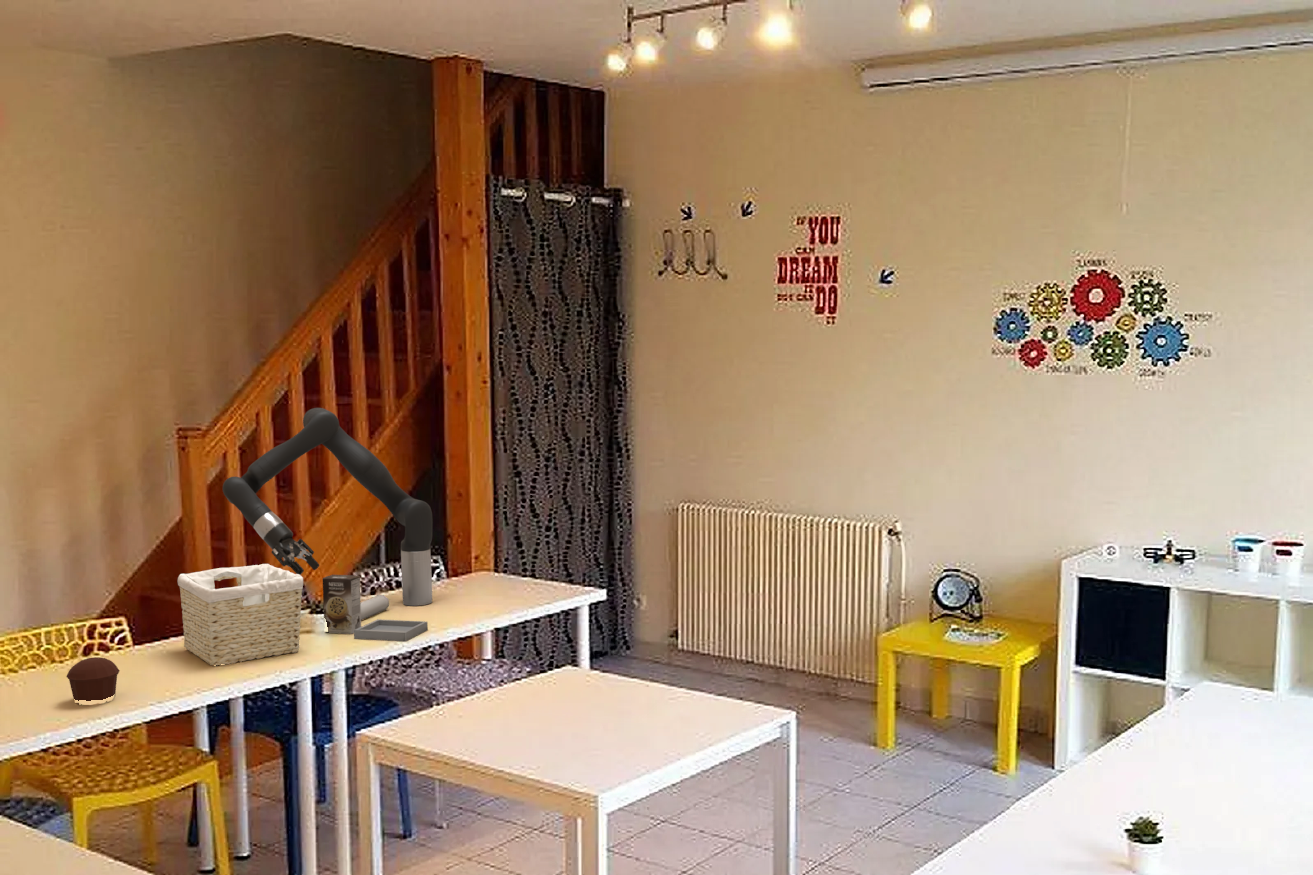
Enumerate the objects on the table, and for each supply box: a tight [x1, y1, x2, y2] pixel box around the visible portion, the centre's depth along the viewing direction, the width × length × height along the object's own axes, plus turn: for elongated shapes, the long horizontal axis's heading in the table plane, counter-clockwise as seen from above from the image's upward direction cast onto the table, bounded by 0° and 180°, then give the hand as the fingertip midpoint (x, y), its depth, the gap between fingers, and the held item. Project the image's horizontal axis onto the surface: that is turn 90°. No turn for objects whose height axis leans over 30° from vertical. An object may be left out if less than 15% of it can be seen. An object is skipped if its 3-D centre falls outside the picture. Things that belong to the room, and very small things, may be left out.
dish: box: [353, 618, 429, 642], centre depth 375 cm, size 14×16×2 cm
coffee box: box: [321, 574, 362, 635], centre depth 380 cm, size 9×6×16 cm
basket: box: [177, 563, 304, 666], centre depth 358 cm, size 27×27×22 cm
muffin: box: [65, 656, 121, 701], centre depth 313 cm, size 12×11×10 cm
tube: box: [360, 594, 390, 621], centre depth 397 cm, size 5×5×25 cm
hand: (309, 570), depth 382 cm, fingers open, 8 cm apart
